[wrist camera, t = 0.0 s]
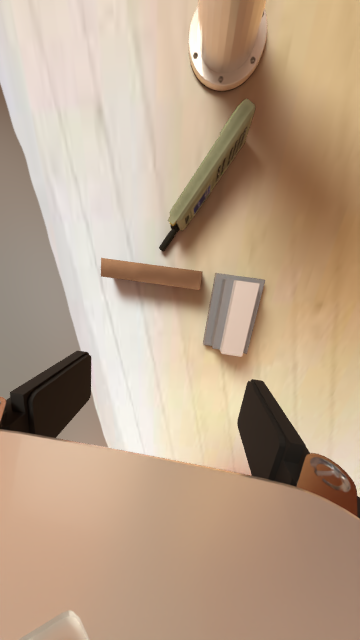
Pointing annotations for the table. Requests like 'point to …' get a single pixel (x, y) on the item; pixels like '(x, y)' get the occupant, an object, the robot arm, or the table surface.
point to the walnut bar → (151, 273)
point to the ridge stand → (232, 313)
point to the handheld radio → (211, 169)
